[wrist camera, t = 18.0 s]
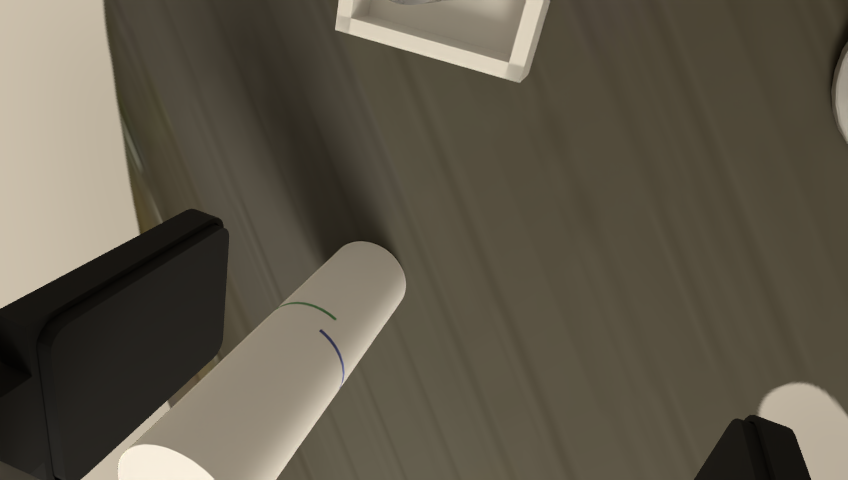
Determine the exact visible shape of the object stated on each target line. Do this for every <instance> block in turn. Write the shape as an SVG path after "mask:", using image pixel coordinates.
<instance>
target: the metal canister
mask: <svg viewBox="0 0 848 480" xmlns="http://www.w3.org/2000/svg"><path fill="white" fill-rule="evenodd" d="M390 1H392V2H395V3H398V4H403V5H418V4H426V3H434V2H441V1H449V0H390Z"/></svg>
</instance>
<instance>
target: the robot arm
mask: <svg viewBox="0 0 848 480" xmlns="http://www.w3.org/2000/svg"><path fill="white" fill-rule="evenodd" d="M831 95H832V111H833V114H834V117H835V120H836V124H837V127H838V129H839V131H840V133H841V134H842V136H843V138H844V139H845V141H846V143H847V144H848V41H847V43H846V45H845V46H844V48H843V50H842V52H841V55H840V58H839V60H838V63H837V66H836V68H835V71H834V77H833V83H832V90H831ZM228 247H229V233H228V230H227V229H225V228H224V226H223V222H222V220H221V219H219V218H217V217H215V216H212V215H209V214H206V213H204V212H201V211H198V210H196V209H189V210H186V211H184V212H182V213H180V214H178V215H177V216H175V217H173V218H171V219H169V220H167V221H165V222H163V223H161V224H160V225H158V226H156V227H154V228H152V229H150V230H148V231H146V232H144V233H143V234H141V235H139V236H137V237H135V238H133V239H131V240H130V241H127V242H126V243H124V244H122V245H120V246H118V247H116V248H114V249H113V250H110V251H109V252H107V253H105V254H103V255H101V256H99V257H97V258H95V259H93V260H92V261H90V262H88V263H86V264H84V265H82V266H80V267H79V268H77V269H75V270H73V271H71V272H69V273H67V274H65V275H63V276H61V277H59V278H58V279H56V280H54V281H52V282H50V283H48V284H46V285H44V286H43V287H41V288H39V289H37V290H35V291H33V292H31V293H29V294H27V295H25V296H24V297H22V298H20V299H18V300H16V301H14V302H12V303H10V304H8V305H7V306H5V307H3V308H1V309H0V480H80V479H82V478H83V477H84V476H85V475H87V474H88V473H89V472H90V471H91V470H92V469H93V468H94V467H95V466H96V465H97V464H98V463H99V462H101V461H102V460H103V459H104V458H105V457H106V456H107V455H108V454H109V453H110V452H112V451H113V449H115V448H116V447H117V446H118V445H119V444H120V443H121V442H122V441H124V440H125V439H126V438H127V437H128V436H129V435H130V434H131V433H132V432H133V431H134V430H135V429H136V428H138V427H139V426H140V425H141V424H142V423H143V422H144V421H145V420H146V419H147V418H149V416H151V415H152V414H153V413H154V412H155V411H156V410H157V409H158V408H159V407H161V406H162V405H163V404H164V403H165V402H166V401H167V400H168V399H169V398H170V397H171V396H173V395H174V394H175V393H176V392H177V391H178V390H179V389H180V388H181V387H182V386H183V385H185V384H186V383H187V382H188V381H189V380H190V379H191V378H192V377H193V376H194V375H195V374H196V373H198V372H199V371H200V370H201V369H202V368H203V367H204V366H205V365H206V364H207V363H208V362H210V361H211V360H212V359H213V358H214V357H215V356H216V354H217V353H218V351H219V349H220V347H221V344H222V340H223V328H224V311H225V295H226V279H227V263H228ZM694 480H811V478H810V475H809V472H808V469H807V467H806V464H805V461H804V458H803V455H802V453H801V450H800V447H799V445H798V442H797V439H796V436H795V434H794V432H793V430H792V429H790V428H788V427H786V426H783V425H780V424H777V423H774V422H772V421H769V420H766V419H764V418H761V417H758V416H756V415H750V416H748V417H747V418H745V420H744V421H743V420H741V419H734V420H733V421H732V422H731V423H730V424H729V426H728V427H727V429H726V430H725V432H724V433H723V435H722V437H721V438H720V440H719V441H718V443H717V444H716V446H715V448H714V449H713V451H712V452H711V454H710V455H709V457H708V458H707V460H706V462H705V463H704V465H703V466H702V468H701V469H700V471H699V473H698V474H697V476H696V477H695V479H694Z"/></svg>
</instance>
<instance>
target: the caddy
mask: <svg viewBox="0 0 848 480" xmlns="http://www.w3.org/2000/svg"><path fill="white" fill-rule="evenodd" d="M549 3H550V0H449V1H441V2H434V3H426V4H418V5H403V4H398V3H395V2H392V1H390V0H339V4H338V12H337V19H336V27H335V30H338V31H341V32H345V33H348V34H352V35H355V36H359V37H362V38H366V39H369V40H373V41H376V42H379V43H383V44H386V45H390V46H393V47H397V48H400V49H404V50H407V51H411V52H414V53H418V54H421V55H425V56H428V57H432V58H435V59H439V60H442V61H446V62H449V63H452V64H456V65H459V66H463V67H466V68H470V69H473V70H477V71H480V72H484V73H487V74H491V75H494V76H498V77H501V78H505V79H508V80H512V81H515V82H519V83H520V82H521V81H522V80H523V79H524V78H525V77H526V76H527V75H528V74H529V71H530V67H531V64H532V61H533V57H534V54H535V51H536V47H537V44H538V40H539V37H540V34H541V30H542V27H543V24H544V20H545V17H546V13H547V10H548V7H549Z"/></svg>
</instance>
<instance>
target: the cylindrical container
mask: <svg viewBox="0 0 848 480" xmlns="http://www.w3.org/2000/svg"><path fill="white" fill-rule="evenodd" d="M405 289H406V279H405V275H404V272H403V270H402V267H401V265H400V264H399V262H398V261H397V259H396V258H395V257H394V256H393V255H392V254H391V253H390V252H388V251H387V250H386V249H385V248H383V247H381V246H379V245H377V244H374V243H371V242H364V241H357V242H352V243H349V244H346V245H345V246H343V247H342V248H340V249H339V250H338V251H337V252H336V253H335V254H334V255H333V256H332V257H331V258H330V259H329V260H328V261H327V262H326V263H325V264H323V265H322V266H321V267H320V268H319V269H318V270H317V271H316V272H315V273H314V274H313V275H312V276H311V277H310V278H309V279H308V280H307V281H305V282H304V283H303V284H302V285H301V286H300V287H299V288H298V289H297V290H296V291H295V292H294V293H293V294H292V295H291V296H290V297H288V298H287V299H286V300H285V301H284V302H283V303H282V304H281V305H280V306H279V307H278V308H277V309H276V310H275V311H274V312H273V313H272V314H270V315H269V316H268V317H267V318H266V319H265V320H264V321H263V322H262V323H261V324H260V325H259V326H258V327H257V328H256V329H255V330H254V331H252V332H251V333H250V334H249V335H248V336H247V337H246V338H245V339H244V340H243V341H242V342H241V343H240V344H239V345H238V346H237V347H236V348H234V349H233V350H232V351H231V352H230V353H229V354H228V355H227V356H226V357H225V358H224V359H223V360H222V361H221V362H220V363H219V364H218V365H216V366H215V367H214V368H213V369H212V370H211V371H210V372H209V373H208V374H207V375H206V376H205V377H204V378H203V379H202V380H201V381H200V382H198V383H197V384H196V385H195V386H194V387H193V388H192V389H191V390H190V391H189V392H188V393H187V394H186V395H185V396H184V397H183V398H182V399H180V400H179V401H178V402H177V403H176V404H175V405H174V406H173V407H172V408H171V409H170V410H169V411H168V412H167V413H166V414H165V415H164V416H163V417H161V418H160V419H159V420H158V421H157V422H156V423H155V424H154V425H153V426H152V427H151V428H150V429H149V430H148V431H147V432H146V433H145V434H144V435H142V436H141V437H140V438H139V439H138V440H137V441H136V442H135V443H134V444H133V445H132V446H131V447H130V448H129V449H128V450H127V451H126V452H124V453H123V455H122V457H121V458H120V460H119V464H118V477H119V480H276V479H277V477H278V476H279V474H280V473H281V471H282V470H283V469H284V467H285V466H286V464H287V463H288V461H289V460H290V459H291V457H292V456H293V454H294V453H295V451H296V450H297V449H298V447H299V446H300V444H301V443H302V441H303V440H304V439H305V437H306V436H307V434H308V433H309V432H310V430H311V429H312V427H313V426H314V424H315V423H316V422H317V420H318V419H319V417H320V416H321V415H322V413H323V412H324V410H325V409H326V407H327V406H328V405H329V403H330V402H331V400H332V399H333V398H334V396H335V395H336V393H337V392H338V390H339V389H340V388H341V386H342V385H343V383H344V382H345V380H346V379H347V378H348V376H349V375H350V373H351V372H352V370H353V369H354V368H355V366H356V365H357V363H358V362H359V360H360V359H361V357H362V356H363V355H364V353H365V352H366V350H367V349H368V347H369V346H370V345H371V343H372V342H373V340H374V339H375V337H376V336H377V335H378V333H379V332H380V330H381V329H382V327H383V326H384V325H385V323H386V322H387V320H388V319H389V318H390V316H391V315H392V313H393V312H394V311H395V309H396V308H397V306H398V305H399V303H400V302H401V301H402V299H403V296H404V294H405Z"/></svg>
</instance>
